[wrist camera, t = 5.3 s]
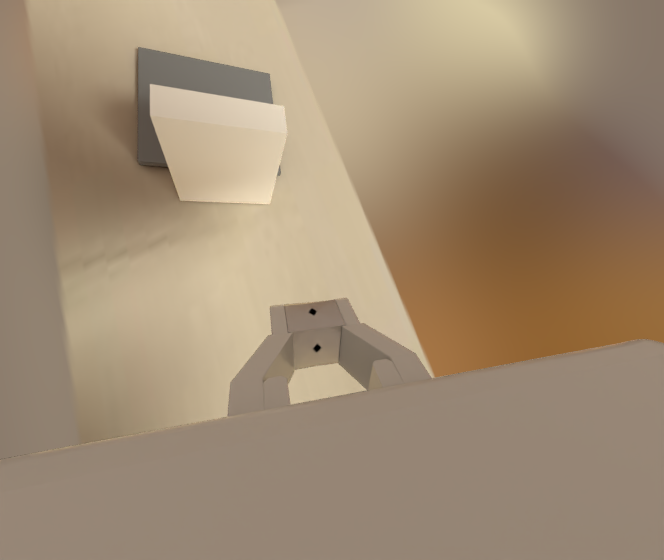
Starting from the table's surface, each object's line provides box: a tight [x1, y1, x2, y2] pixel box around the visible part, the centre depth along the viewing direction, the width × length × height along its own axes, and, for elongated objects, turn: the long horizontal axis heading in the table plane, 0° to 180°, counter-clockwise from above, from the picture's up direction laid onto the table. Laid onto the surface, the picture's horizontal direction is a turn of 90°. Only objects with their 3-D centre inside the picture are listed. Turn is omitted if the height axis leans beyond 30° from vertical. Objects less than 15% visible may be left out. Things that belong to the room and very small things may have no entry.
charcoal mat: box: [138, 47, 281, 175], centre depth 31 cm, size 14×14×1 cm
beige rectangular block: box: [150, 84, 287, 204], centre depth 25 cm, size 3×9×11 cm, turn 99°
